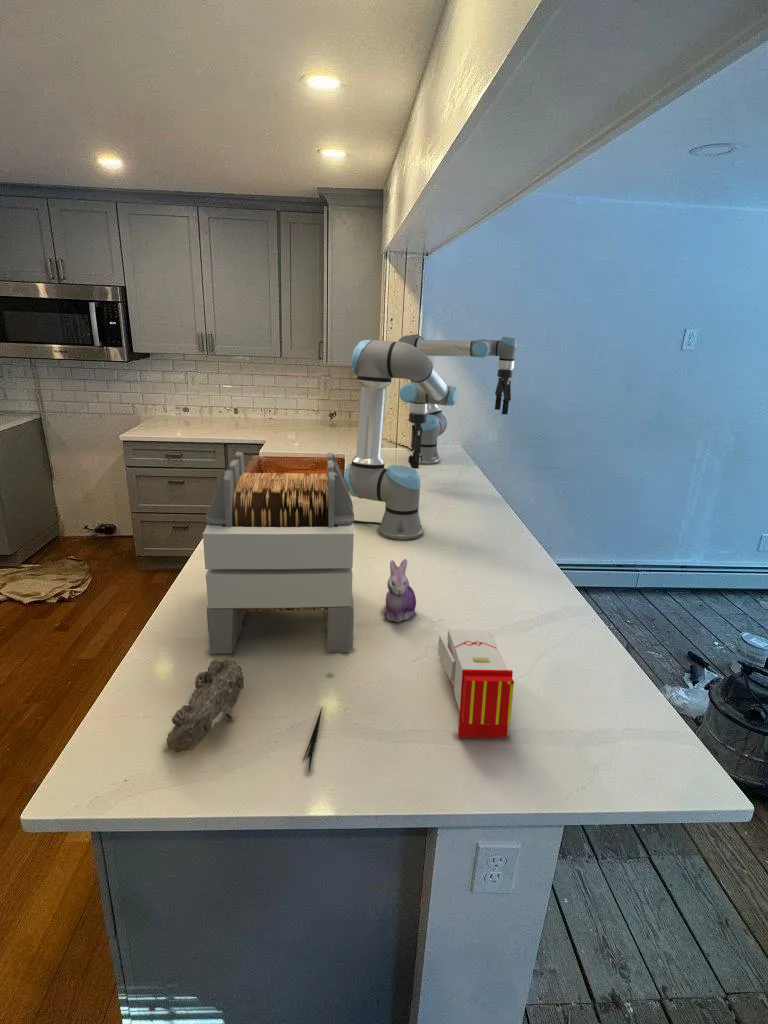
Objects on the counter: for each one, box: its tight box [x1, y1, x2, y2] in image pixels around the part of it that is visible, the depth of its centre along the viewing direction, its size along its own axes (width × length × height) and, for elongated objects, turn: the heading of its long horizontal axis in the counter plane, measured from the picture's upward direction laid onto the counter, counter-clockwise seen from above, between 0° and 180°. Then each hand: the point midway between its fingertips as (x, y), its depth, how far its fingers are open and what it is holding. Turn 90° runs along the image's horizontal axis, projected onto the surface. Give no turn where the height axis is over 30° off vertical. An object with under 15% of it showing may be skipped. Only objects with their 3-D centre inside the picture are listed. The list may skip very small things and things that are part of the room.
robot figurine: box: [408, 451, 422, 470], centre depth 245 cm, size 6×5×8 cm
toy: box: [437, 628, 515, 738], centre depth 117 cm, size 12×13×30 cm
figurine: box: [384, 558, 417, 623], centre depth 145 cm, size 9×10×15 cm
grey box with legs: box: [202, 451, 355, 655], centre depth 137 cm, size 34×33×41 cm
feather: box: [301, 673, 332, 771], centre depth 108 cm, size 2×28×2 cm
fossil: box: [166, 658, 245, 754], centre depth 106 cm, size 22×10×15 cm
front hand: (414, 466), depth 246 cm, fingers closed on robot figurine, 5 cm apart
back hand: (500, 411), depth 289 cm, fingers open, 13 cm apart
